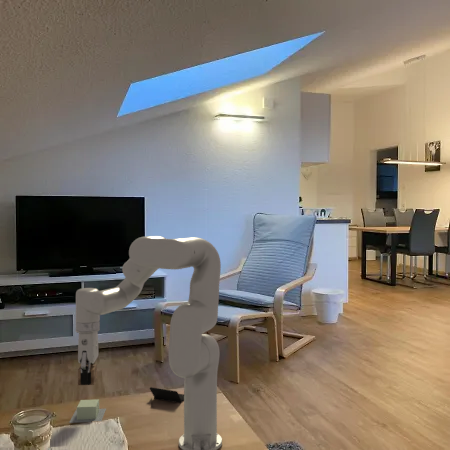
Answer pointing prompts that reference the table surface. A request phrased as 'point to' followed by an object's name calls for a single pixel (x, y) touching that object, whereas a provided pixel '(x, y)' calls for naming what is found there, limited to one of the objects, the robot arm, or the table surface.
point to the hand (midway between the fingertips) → (87, 380)
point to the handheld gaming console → (167, 395)
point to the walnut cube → (93, 374)
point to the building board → (99, 418)
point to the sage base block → (88, 409)
